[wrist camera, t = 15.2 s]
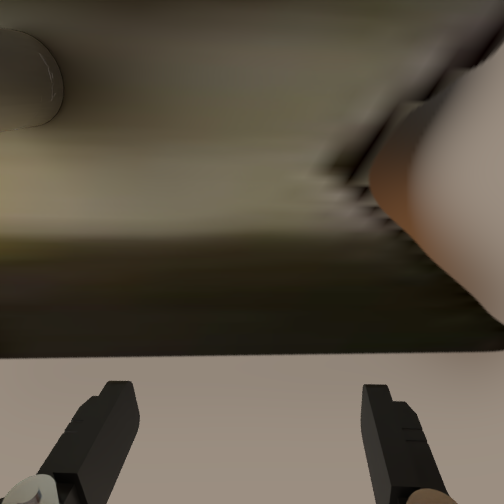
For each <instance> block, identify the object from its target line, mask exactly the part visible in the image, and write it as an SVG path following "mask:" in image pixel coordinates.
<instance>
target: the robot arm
mask: <svg viewBox="0 0 504 504" xmlns="http://www.w3.org/2000/svg"><path fill="white" fill-rule="evenodd" d="M62 99H63V81H62V76H61V73H60V70H59V67H58V65H57V63H56V61H55V59H54V57H53V56H52V55H51V53H50V52H49V51H48V49H47V48H46V47H45V46H44V45H43V44H42V43H40V42H39V41H38V40H37V39H35V38H33V37H32V36H30V35H28V34H26V33H23V32H20V31H15V30H10V29H5V28H0V132H4V131H10V130H17V129H23V128H28V127H34V126H39V125H42V124H45V123H46V122H48V121H50V120H51V119H52V118H53V117H54V116H55V115H56V114H57V112H58V110H59V108H60V106H61V103H62ZM139 421H140V415H139V409H138V405H137V401H136V397H135V392H134V388H133V384H132V383H131V382H130V381H108V382H107V383H106V385H105V386H104V388H103V390H102V391H101V393H100V395H99V396H92V397H91V398H90V399H89V400H87V401H86V402H85V403H84V404H83V405H82V406H80V407H79V409H78V411H77V412H76V414H75V415H74V417H73V418H72V420H71V423H69V425H68V426H67V428H66V429H65V432H64V433H63V434H62V435H61V437H60V438H59V440H58V442H57V443H56V445H55V446H54V448H53V449H52V451H51V453H50V454H49V456H48V457H47V459H46V460H45V462H44V464H43V465H42V466H41V468H40V470H39V471H38V473H37V474H36V475H34V476H31V477H28V478H27V479H25V480H23V481H21V482H20V483H18V484H17V485H16V486H14V487H13V488H12V489H11V490H10V491H9V492H8V494H7V495H6V496H5V497H4V498H1V499H0V504H106V503H107V501H108V499H109V496H110V494H111V492H112V489H113V487H114V485H115V482H116V480H117V478H118V476H119V473H120V471H121V469H122V466H123V464H124V462H125V459H126V457H127V455H128V452H129V450H130V448H131V445H132V443H133V441H134V438H135V436H136V434H137V431H138V428H139ZM361 432H362V438H363V444H364V449H365V453H366V458H367V463H368V467H369V472H370V477H371V482H372V486H373V491H374V496H375V500H376V504H457V503H456V502H455V501H454V500H453V499H452V498H451V497H450V496H449V494H448V492H447V490H446V488H445V486H444V483H443V480H442V478H441V475H440V473H439V470H438V468H437V465H436V463H435V460H434V458H433V455H432V452H431V450H430V447H429V445H428V444H427V440H426V437H425V434H424V432H423V431H422V427H421V424H420V422H419V419H418V416H417V414H416V413H415V412H414V411H413V410H412V409H411V408H410V407H409V405H408V404H407V403H406V402H396V401H393V400H392V397H391V395H390V391H389V389H388V386H387V385H371V384H368V385H367V384H364V385H363V392H362V407H361Z"/></svg>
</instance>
